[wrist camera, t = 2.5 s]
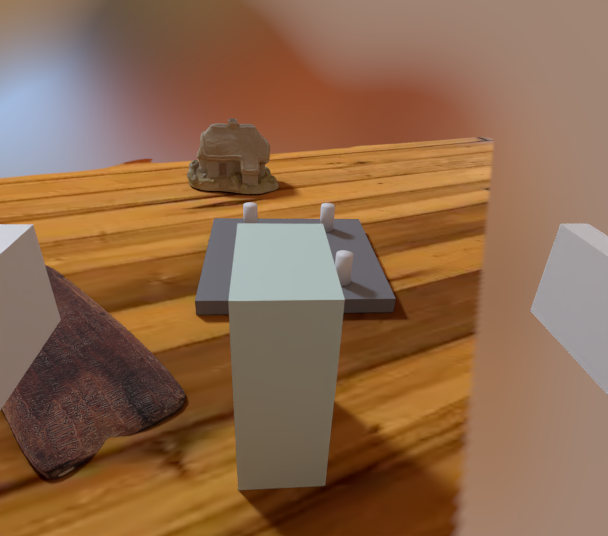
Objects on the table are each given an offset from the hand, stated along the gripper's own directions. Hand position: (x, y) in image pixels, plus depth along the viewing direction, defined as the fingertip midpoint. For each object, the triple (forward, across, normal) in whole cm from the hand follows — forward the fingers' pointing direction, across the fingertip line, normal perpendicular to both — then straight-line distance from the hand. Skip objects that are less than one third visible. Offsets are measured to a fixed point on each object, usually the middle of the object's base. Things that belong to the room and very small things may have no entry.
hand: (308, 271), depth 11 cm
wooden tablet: (+20, -18, -18) cm, 33 cm away
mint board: (+10, 0, -18) cm, 20 cm away
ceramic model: (+58, -6, -18) cm, 61 cm away
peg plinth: (+32, +2, -18) cm, 37 cm away
